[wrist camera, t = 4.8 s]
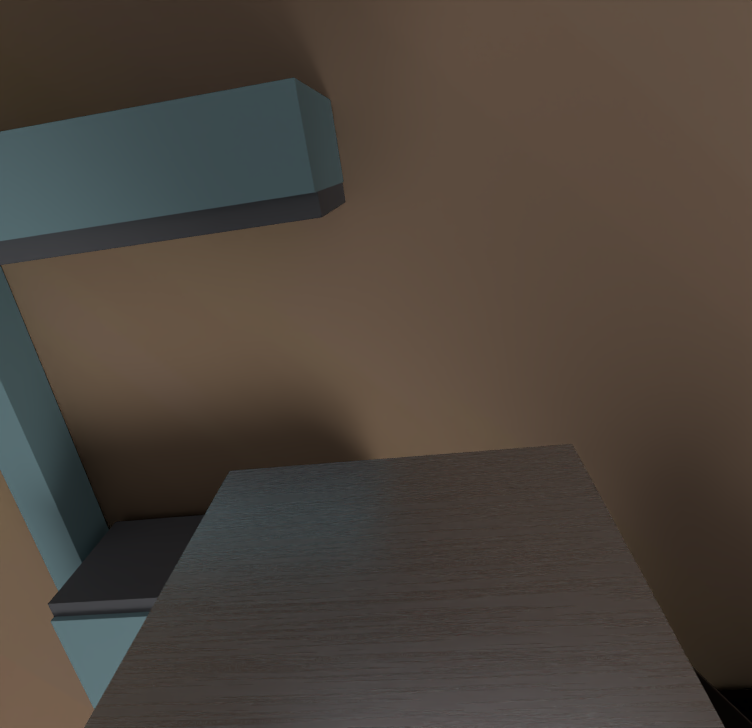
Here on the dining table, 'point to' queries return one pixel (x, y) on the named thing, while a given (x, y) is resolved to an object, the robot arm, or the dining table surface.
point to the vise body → (132, 227)
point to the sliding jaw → (116, 594)
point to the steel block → (408, 606)
